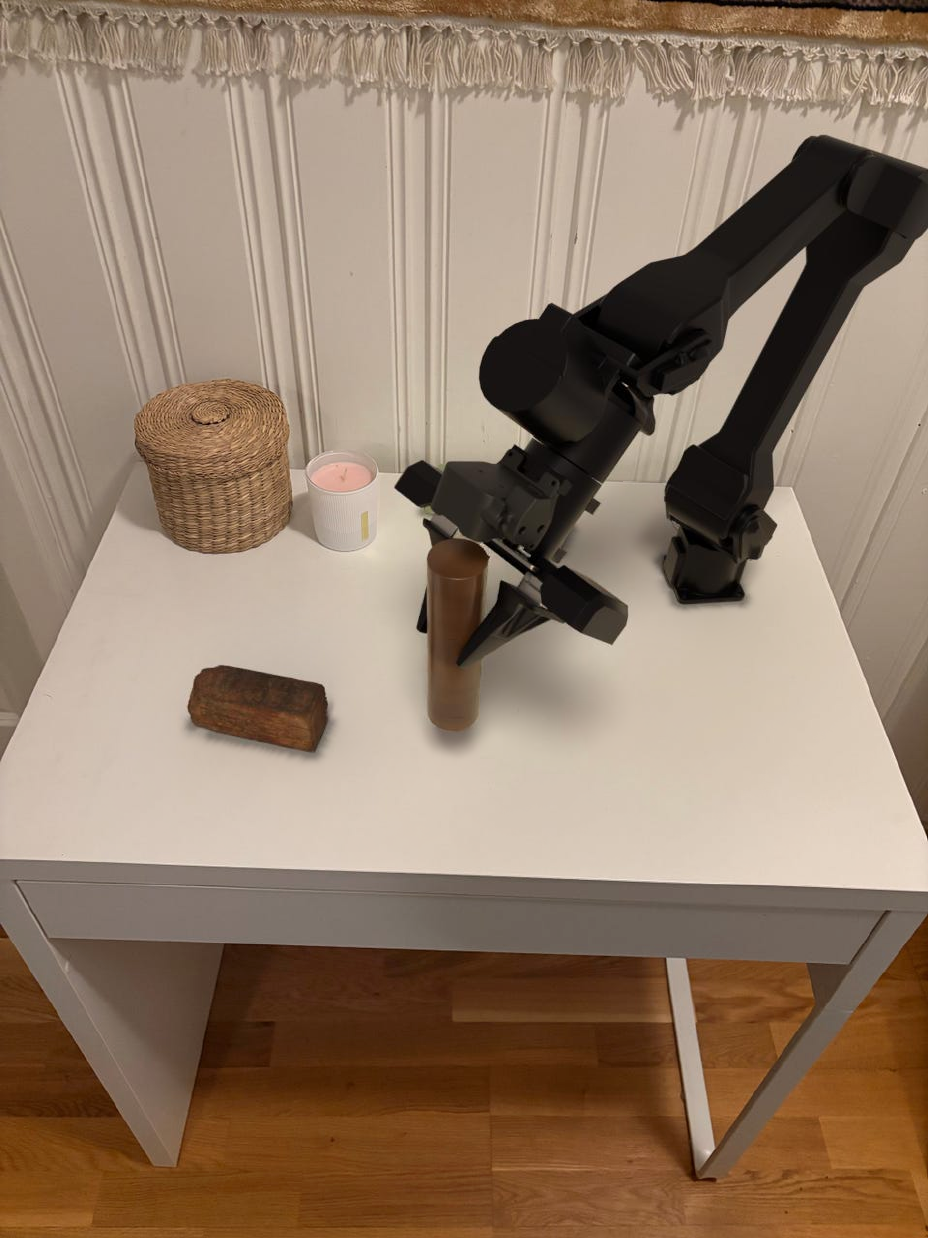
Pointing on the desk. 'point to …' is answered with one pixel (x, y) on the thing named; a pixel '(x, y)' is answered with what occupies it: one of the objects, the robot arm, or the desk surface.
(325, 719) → the brick
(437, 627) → the walnut cylinder
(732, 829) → the desk surface
